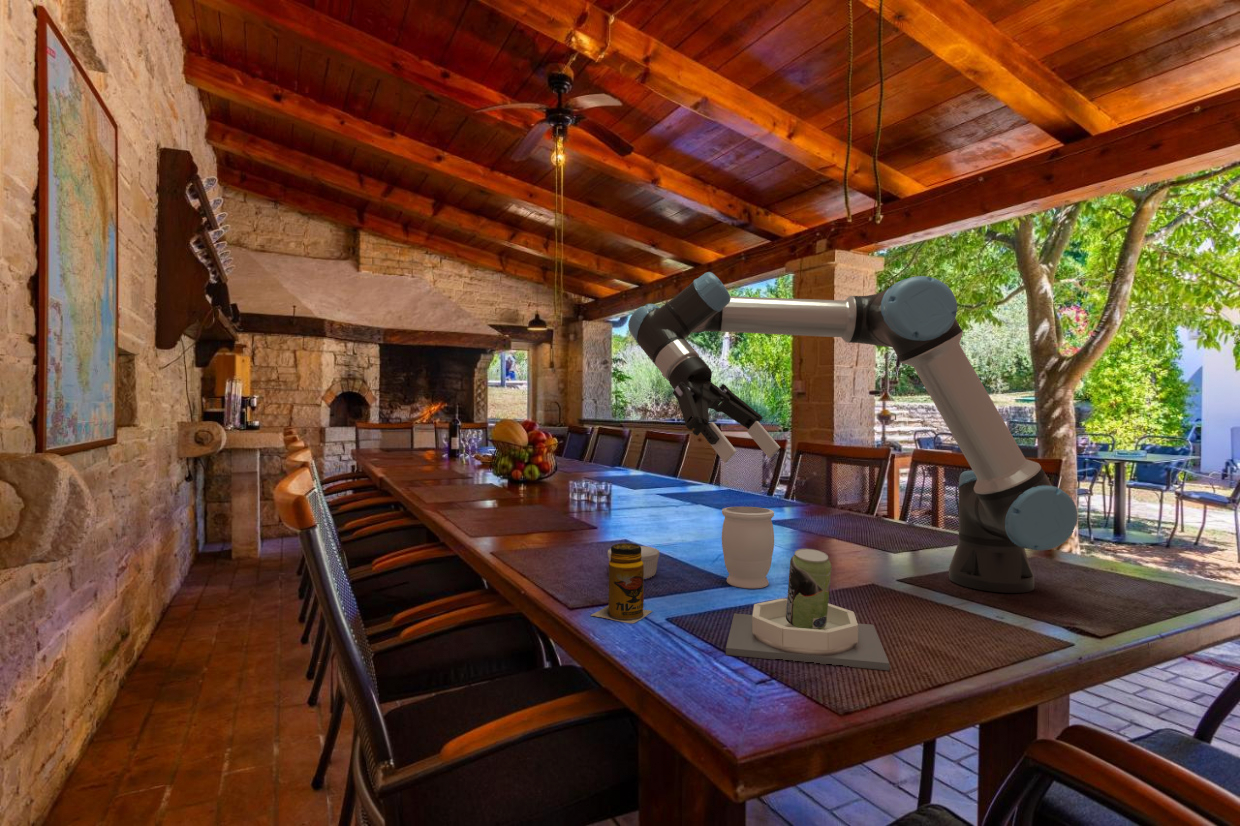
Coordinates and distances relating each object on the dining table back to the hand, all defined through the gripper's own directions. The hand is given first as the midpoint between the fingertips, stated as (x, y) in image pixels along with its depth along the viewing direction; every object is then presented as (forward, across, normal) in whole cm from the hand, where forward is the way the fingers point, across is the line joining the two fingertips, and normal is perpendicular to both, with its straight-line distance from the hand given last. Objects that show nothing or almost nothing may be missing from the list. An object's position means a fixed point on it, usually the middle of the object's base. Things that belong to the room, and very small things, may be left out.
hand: (753, 454), depth 109 cm
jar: (+11, -17, -28) cm, 35 cm away
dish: (+27, +5, -10) cm, 29 cm away
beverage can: (+27, +3, -10) cm, 29 cm away
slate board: (+28, +4, -11) cm, 30 cm away
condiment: (+8, +14, -32) cm, 36 cm away
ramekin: (-4, -6, -44) cm, 44 cm away
